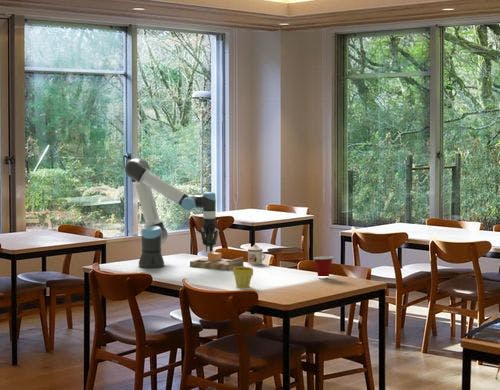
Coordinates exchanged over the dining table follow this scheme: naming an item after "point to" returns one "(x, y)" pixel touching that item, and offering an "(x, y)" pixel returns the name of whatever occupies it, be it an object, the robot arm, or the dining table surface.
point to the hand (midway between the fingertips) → (209, 256)
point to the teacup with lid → (255, 255)
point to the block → (214, 256)
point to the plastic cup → (323, 265)
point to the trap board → (217, 263)
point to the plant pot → (243, 276)
